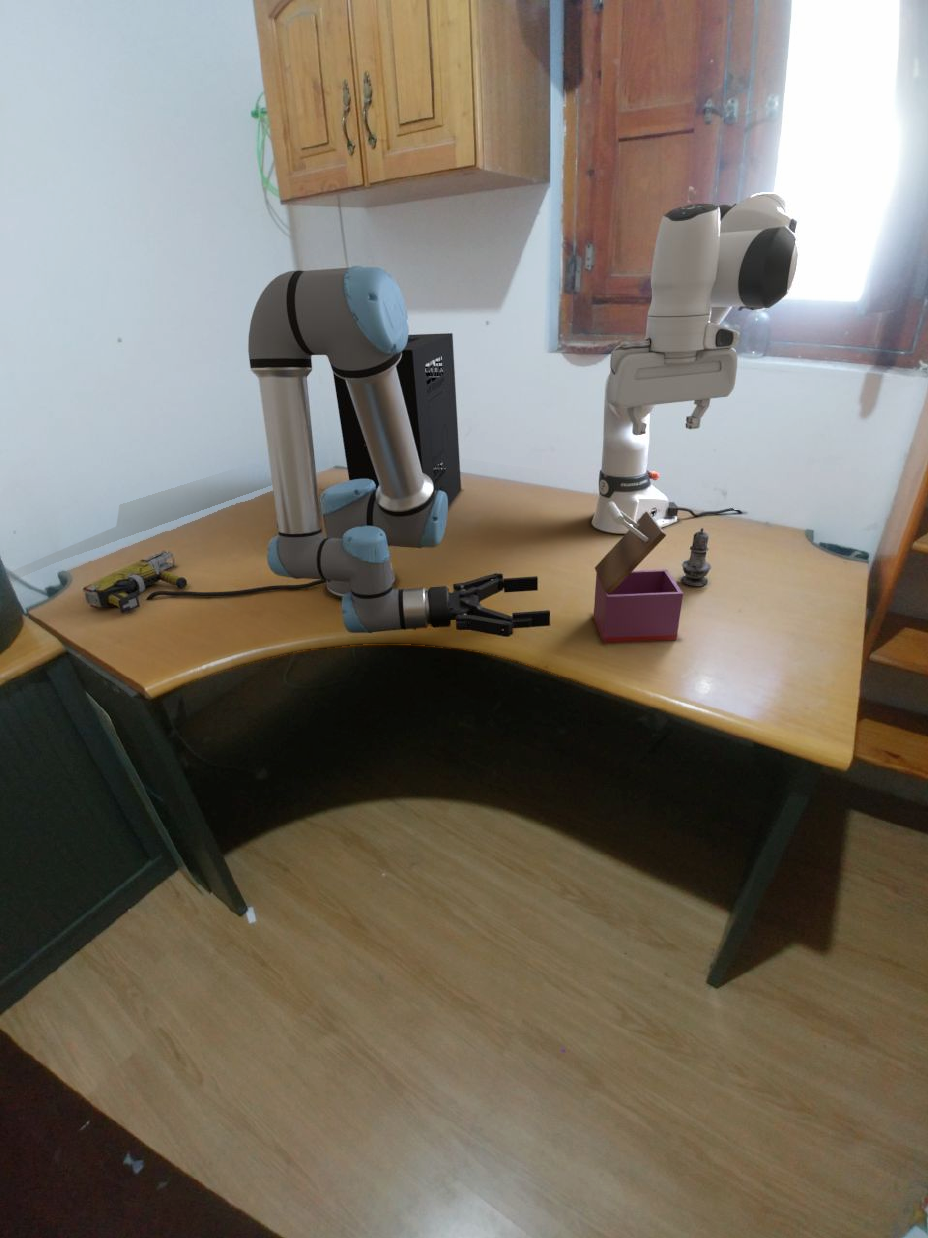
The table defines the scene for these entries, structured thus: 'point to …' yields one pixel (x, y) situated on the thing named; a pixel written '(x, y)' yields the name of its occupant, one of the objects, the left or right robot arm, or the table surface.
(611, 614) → the chest
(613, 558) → the lid
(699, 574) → the pewter chess piece
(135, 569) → the toy gun
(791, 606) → the table surface
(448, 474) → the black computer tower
